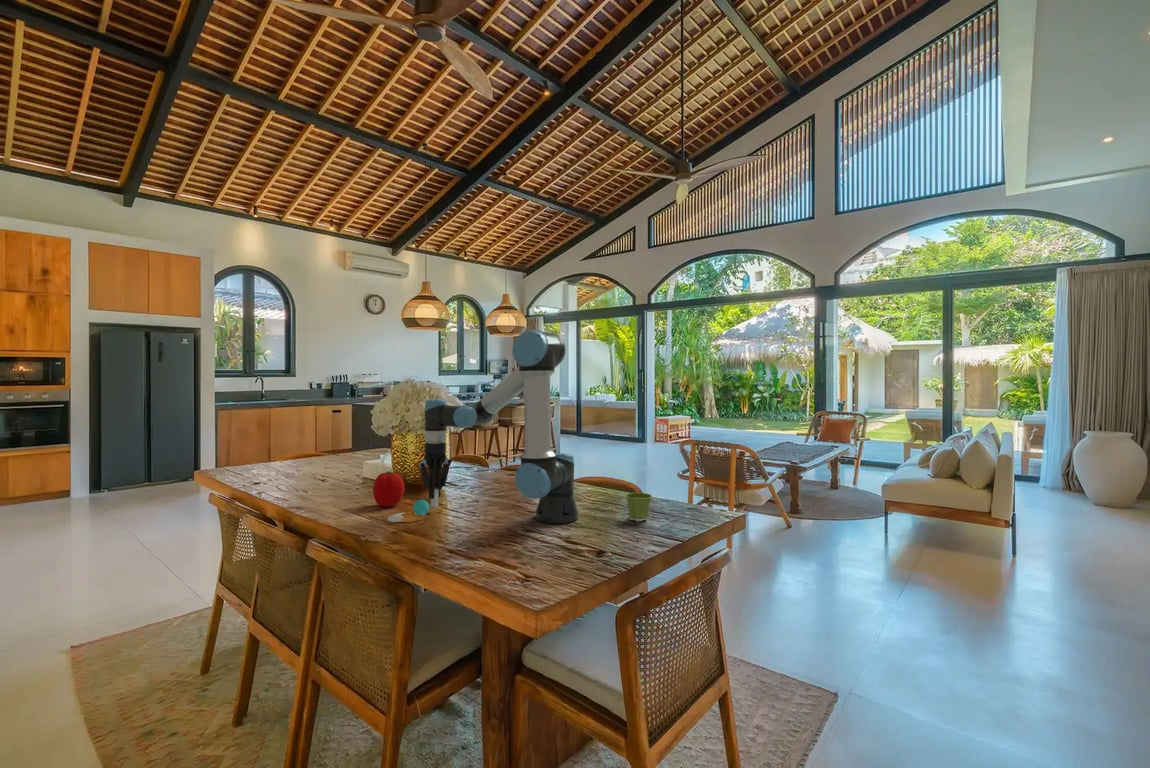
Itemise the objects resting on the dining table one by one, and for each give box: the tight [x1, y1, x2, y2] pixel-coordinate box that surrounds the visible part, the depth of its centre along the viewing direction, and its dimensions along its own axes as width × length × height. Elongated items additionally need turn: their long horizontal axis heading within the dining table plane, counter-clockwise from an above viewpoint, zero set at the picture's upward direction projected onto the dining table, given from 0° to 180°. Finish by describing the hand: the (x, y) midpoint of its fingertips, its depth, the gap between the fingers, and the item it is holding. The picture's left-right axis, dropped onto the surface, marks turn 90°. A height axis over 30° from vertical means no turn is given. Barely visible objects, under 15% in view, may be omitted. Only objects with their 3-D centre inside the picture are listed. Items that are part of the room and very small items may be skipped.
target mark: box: [386, 511, 411, 523], centre depth 184 cm, size 13×13×1 cm
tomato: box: [372, 470, 406, 508], centre depth 200 cm, size 12×12×13 cm
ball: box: [412, 499, 430, 516], centre depth 188 cm, size 6×6×6 cm
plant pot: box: [624, 492, 653, 519], centre depth 186 cm, size 9×9×9 cm
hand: (434, 506), depth 192 cm, fingers closed
